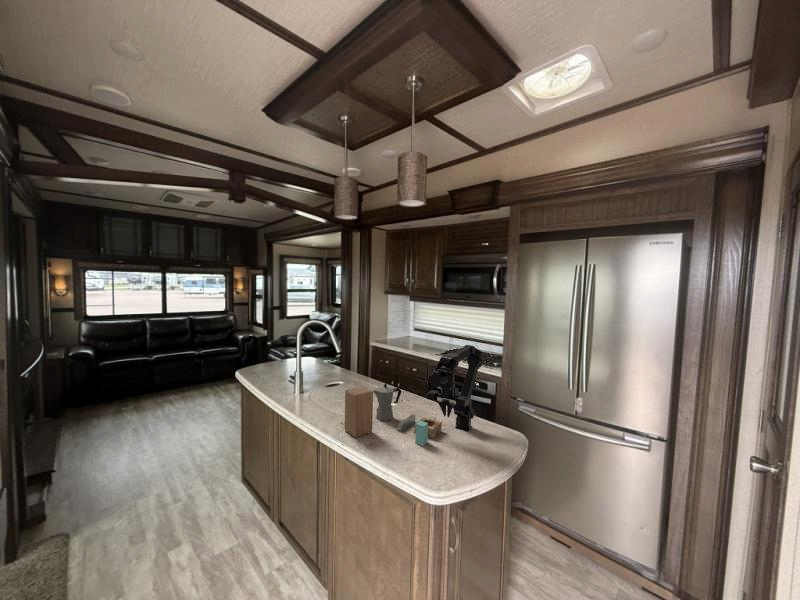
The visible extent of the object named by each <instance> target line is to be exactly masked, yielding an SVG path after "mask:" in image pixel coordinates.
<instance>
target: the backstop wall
mask: <svg viewBox="0 0 800 600" xmlns="http://www.w3.org/2000/svg"><path fill="white" fill-rule="evenodd" d="M415 423H416V415H415V414H410V415H409V416H408V417H406V418H404V419H403V420H401V421H400V422H398V423H397V432H400V433H402V432H403V431H405V429H407V428H408V427H410V426H411V425H413V424H415Z"/></svg>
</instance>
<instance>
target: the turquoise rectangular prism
mask: <svg viewBox="0 0 800 600" xmlns="http://www.w3.org/2000/svg"><path fill="white" fill-rule="evenodd" d="M418 421H419V422H418ZM418 421H417V422H418V423H417V422H415V423H416V434H415V438H414V439H415V440H414V441H415V442H414V443H415V445H418V446H421V447H424V446H425V445H426V444H427V443H428V442H429V438H428V423H426V422H423V421H420V420H418Z"/></svg>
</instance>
